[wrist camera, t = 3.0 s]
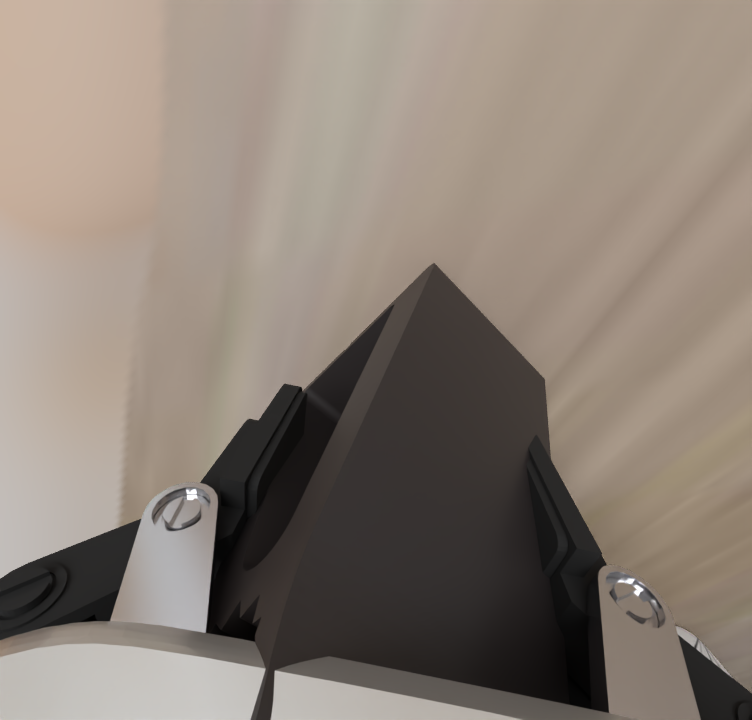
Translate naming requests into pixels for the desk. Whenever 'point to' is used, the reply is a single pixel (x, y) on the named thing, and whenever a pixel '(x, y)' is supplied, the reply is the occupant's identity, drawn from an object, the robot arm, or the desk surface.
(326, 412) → the phone stand
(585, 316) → the desk surface
